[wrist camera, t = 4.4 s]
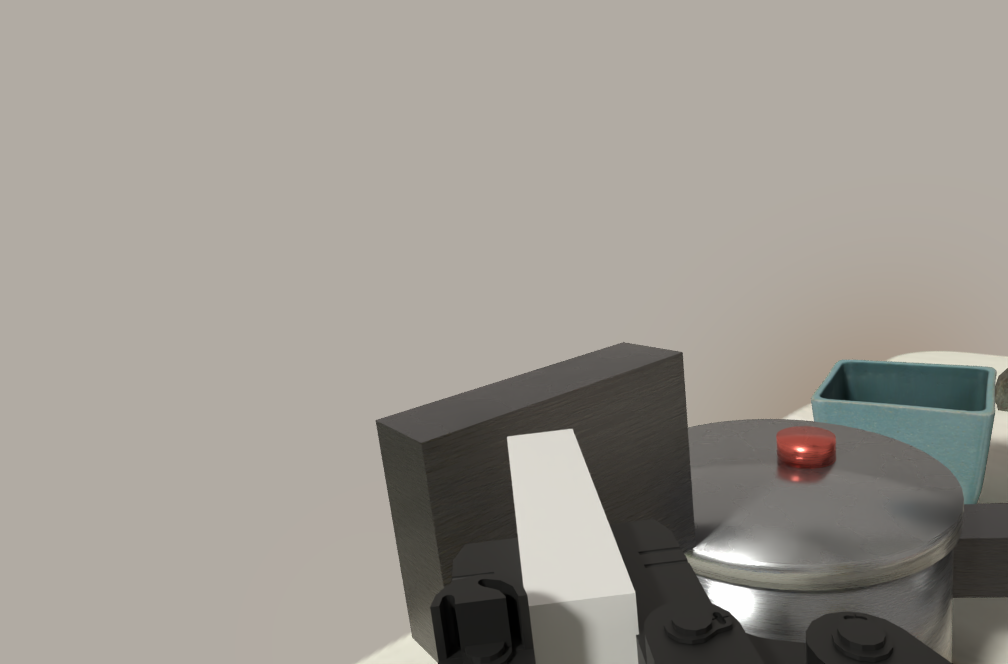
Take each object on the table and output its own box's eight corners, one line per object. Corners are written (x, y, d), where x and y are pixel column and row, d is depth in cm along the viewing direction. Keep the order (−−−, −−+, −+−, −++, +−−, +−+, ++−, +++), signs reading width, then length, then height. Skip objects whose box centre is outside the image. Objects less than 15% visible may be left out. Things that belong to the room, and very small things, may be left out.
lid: (739, 419, 39) (731, 273, 37) (1025, 489, 28) (1033, 287, 26) (350, 595, 27) (311, 388, 25) (591, 848, 16) (551, 507, 14)
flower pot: (993, 501, 44) (997, 364, 42) (990, 573, 37) (995, 413, 35) (840, 480, 49) (837, 357, 47) (813, 540, 42) (808, 399, 40)
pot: (959, 591, 36) (962, 435, 34) (1133, 816, 24) (1152, 590, 22) (478, 594, 41) (458, 458, 39) (412, 782, 29) (378, 596, 27)
